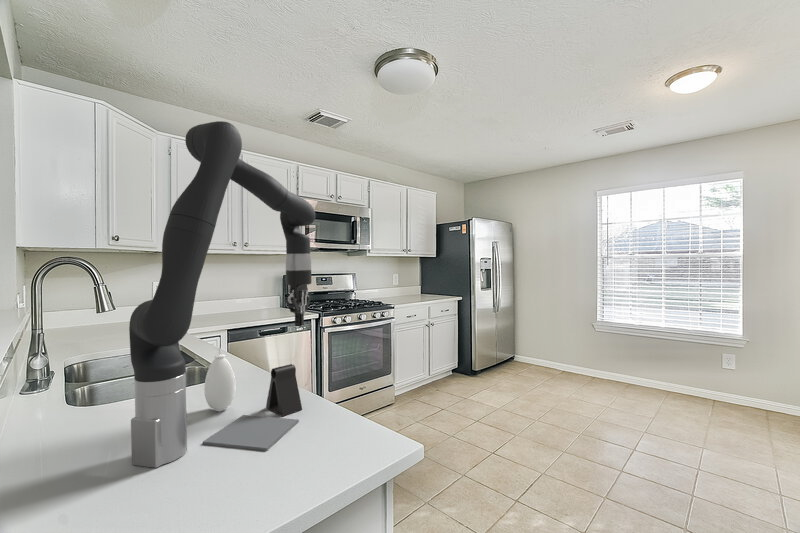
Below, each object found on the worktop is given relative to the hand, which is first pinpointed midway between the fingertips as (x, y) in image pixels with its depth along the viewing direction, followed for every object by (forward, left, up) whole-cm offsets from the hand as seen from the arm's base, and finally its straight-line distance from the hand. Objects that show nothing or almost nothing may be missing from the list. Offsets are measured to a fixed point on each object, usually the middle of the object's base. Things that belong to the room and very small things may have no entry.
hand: (299, 325), depth 115 cm
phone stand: (-10, 0, -22) cm, 24 cm away
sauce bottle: (-14, +17, -22) cm, 31 cm away
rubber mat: (-24, 0, -22) cm, 33 cm away
